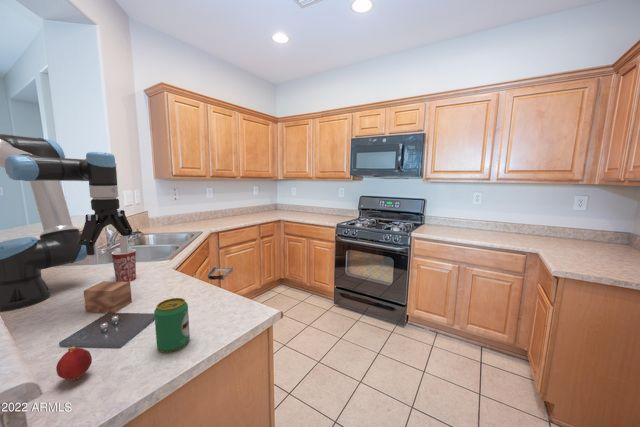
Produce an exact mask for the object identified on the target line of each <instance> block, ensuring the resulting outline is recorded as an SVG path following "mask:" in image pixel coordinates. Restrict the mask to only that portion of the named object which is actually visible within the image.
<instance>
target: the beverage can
mask: <svg viewBox="0 0 640 427" xmlns="http://www.w3.org/2000/svg"><path fill="white" fill-rule="evenodd" d="M153 313H154V315H155V320H154V325H155V340H156V347H157V348H158V350H159V351H160V352H161V353H166V354H168V353H173V352H177V351H179V350H181V349H182V348H185V346H187V344H188V343H189V340H190V338H191V335H190V320H189V319H190V317H189V305H188V303H187V301H186V299H185V298H183V297H182V298H181V297H174V298H173V297H172V298H167V299H165V300H162V301H160V302H159V303H158V304H156V308H155V309H154V311H153Z"/></svg>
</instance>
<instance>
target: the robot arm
mask: <svg viewBox="0 0 640 427" xmlns="http://www.w3.org/2000/svg"><path fill="white" fill-rule="evenodd" d="M61 146H62V145H60V144H59V143H58V141H57V142H56V141H55V140H52V139H46V138H43V137H33V136H32V137H30V136H20V135H12V134H11V135H10V134H6V133H5V134H4V133H3V134H2V133H0V167H1V168H3V169H4V170H5V173H6V174H7V176H8V178H9V179H11V180H14V181H25V182H29V183H30V187H31V191H32V194H33V198H34V201H35V204H36V209H37V212H38V215H39V218H40V222H41V224H42V225H41V227H42V230H43V231H42V232H41V234H39V239H38V238H36V237H35V236H25V237H18V238H17V237H16V238H12V239H7V240H3V241H0V312H6V311H7V312H8V311H13V310H17V309H22V308H26V307H29V306H33V305H35V304H38V303H40V302H43V301H45V300H48V298H50V297H51V290H50V288H49V287H48V285H47V284H46V282H45V280H44V279H43V277H42V270H46V269H51V268H55V267H59V266H63V265H64V266H65V265H68V264H75V263H77V262H81V261H83V260H85V259H86V258H87V257H88V265H99V264H100V257H99V248H98V244H96V243H97V241H98V239H99V237H100V235H101V233H102V231H103V229H104V228H106V227H107V226H110V225H112V227H113V228H114V229H115V230H116V231H117V232H118V234H120V235H119V237H118V239H119V250H121V253H129V249H130V246H129V243H130V241H129V239H130V238H129V236H131V235H132V233H133V232H134V231H133V228H132V227H131V225H130V222H129V220H128V219H127V216H126V212H125V210H123V209H120V199H119V198H118V197H119V190H118V188H119V186H118V172H117V163H116V157H115V155H114V154H113V153H110V152H100V151H99V152H98V151H90V152H87V153H86V154H85V159H81V158H66V155H65V152H64V150H63V148H62V147H61ZM61 181H62V182H63V181H66V182H68V181H69V182H73V181H74V182H78V181H79V182H88V188H89V197H90V198H92V199H91V200H90V206H91V207H90V208H91V210H92V211H94V213H93V214H92V213H91V214H88V213H87V214H85V221H84V225H83V229H82V232H80V229H79V228H77V227H76V226H74V225H73V222H72V217H71V216H70V211H69V208H68V205H67V201H66V197H65V194H64V190H63V187H62V183H61Z"/></svg>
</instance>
